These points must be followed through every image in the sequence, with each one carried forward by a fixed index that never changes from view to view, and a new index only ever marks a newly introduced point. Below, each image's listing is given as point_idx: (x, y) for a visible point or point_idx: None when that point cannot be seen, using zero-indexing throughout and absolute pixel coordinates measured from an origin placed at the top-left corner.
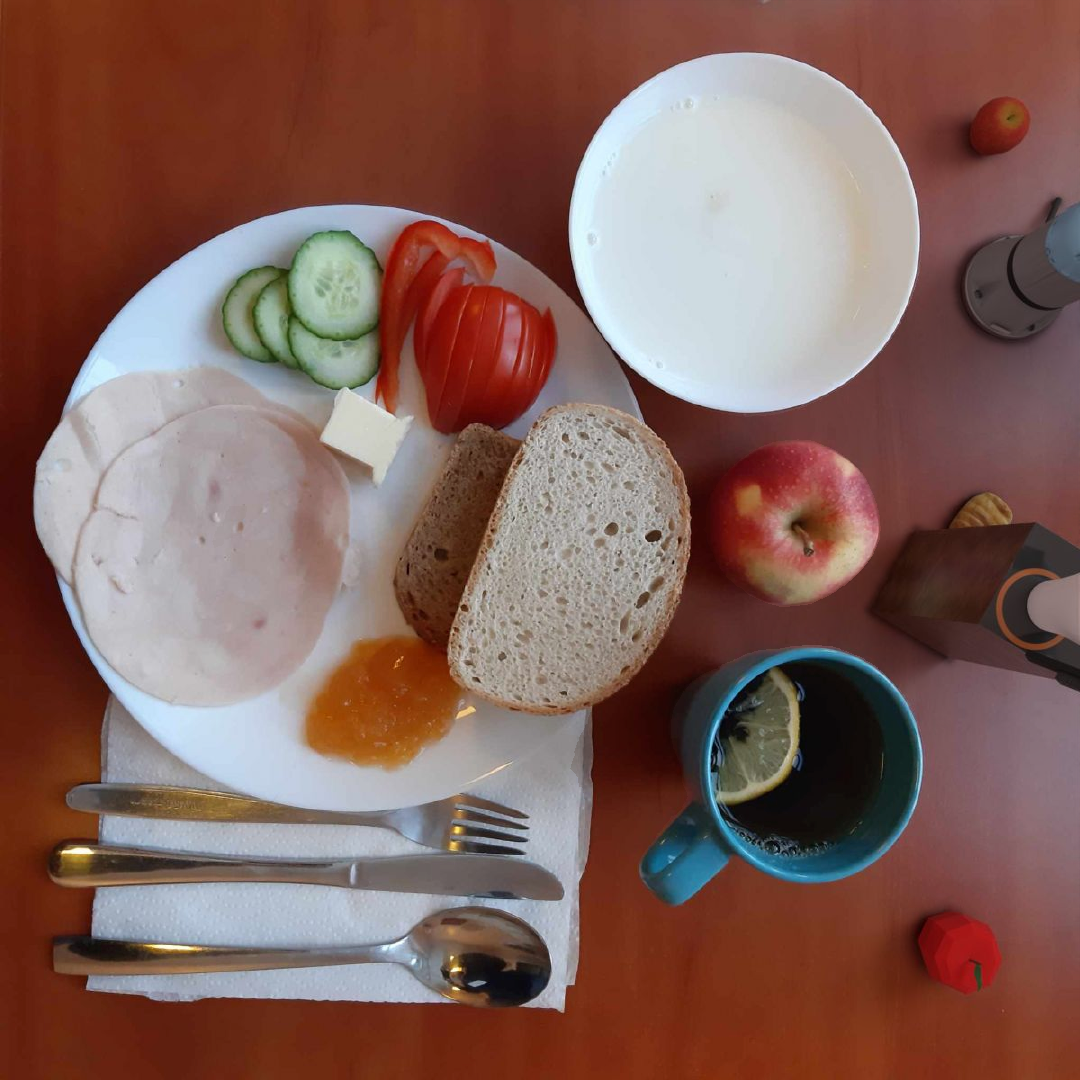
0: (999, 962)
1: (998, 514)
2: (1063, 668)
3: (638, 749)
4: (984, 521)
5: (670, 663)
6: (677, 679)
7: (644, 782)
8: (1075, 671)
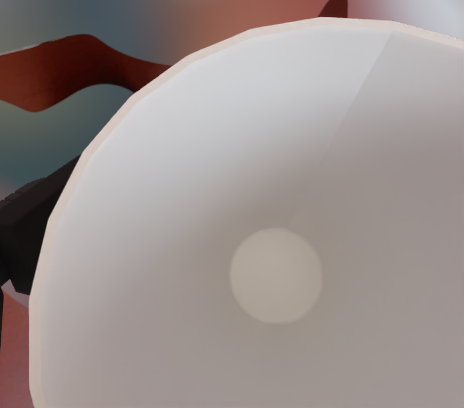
0: None
1: None
2: (60, 172)
3: (68, 68)
4: None
5: (140, 70)
6: (129, 78)
7: (44, 80)
8: (42, 191)
